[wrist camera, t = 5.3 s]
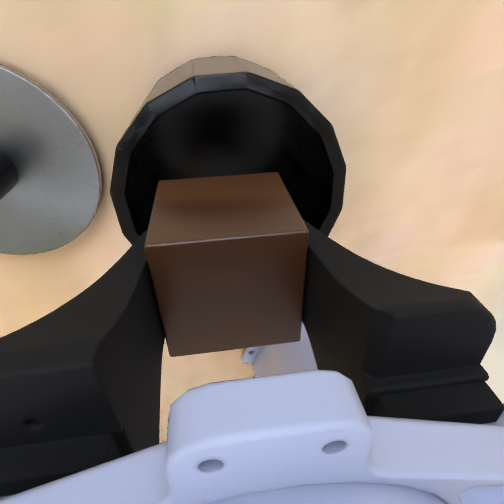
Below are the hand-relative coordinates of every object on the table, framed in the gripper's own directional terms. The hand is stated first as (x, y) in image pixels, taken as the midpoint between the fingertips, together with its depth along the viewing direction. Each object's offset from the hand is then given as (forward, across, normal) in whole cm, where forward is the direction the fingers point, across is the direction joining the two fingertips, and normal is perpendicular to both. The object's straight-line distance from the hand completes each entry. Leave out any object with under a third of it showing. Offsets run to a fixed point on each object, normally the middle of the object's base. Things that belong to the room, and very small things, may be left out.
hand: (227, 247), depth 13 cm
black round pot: (+9, 0, 0) cm, 9 cm away
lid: (+9, +12, -1) cm, 15 cm away
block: (+1, 0, 0) cm, 1 cm away
